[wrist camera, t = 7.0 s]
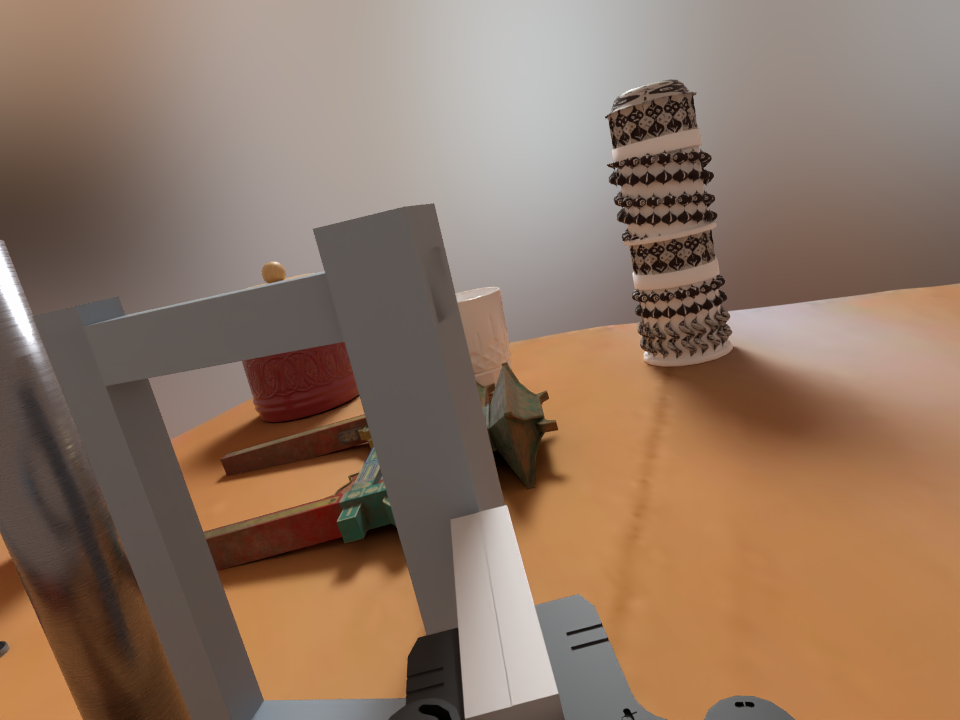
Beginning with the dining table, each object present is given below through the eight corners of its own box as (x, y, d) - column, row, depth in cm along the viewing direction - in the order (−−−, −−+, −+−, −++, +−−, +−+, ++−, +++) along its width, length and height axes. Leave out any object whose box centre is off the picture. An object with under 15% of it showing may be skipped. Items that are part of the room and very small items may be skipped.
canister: (327, 384, 85) (290, 257, 81) (386, 387, 76) (347, 244, 72) (239, 420, 76) (193, 280, 72) (294, 428, 67) (245, 267, 63)
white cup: (436, 393, 68) (414, 304, 65) (499, 372, 71) (479, 286, 68) (464, 406, 60) (440, 307, 58) (533, 382, 63) (513, 287, 61)
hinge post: (214, 731, 25) (24, 239, 21) (189, 797, 22) (-39, 240, 18) (139, 752, 25) (-70, 259, 20) (104, 822, 22) (-149, 264, 17)
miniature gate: (237, 423, 61) (531, 337, 58) (257, 473, 62) (547, 391, 59) (42, 583, 35) (561, 440, 32) (84, 664, 36) (588, 533, 33)
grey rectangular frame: (214, 806, 21) (12, 302, 17) (253, 747, 24) (82, 288, 20) (554, 819, 18) (404, 207, 14) (562, 749, 21) (434, 203, 17)
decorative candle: (620, 366, 62) (574, 105, 56) (671, 339, 67) (633, 99, 62) (705, 370, 55) (661, 73, 49) (753, 339, 60) (719, 69, 55)
